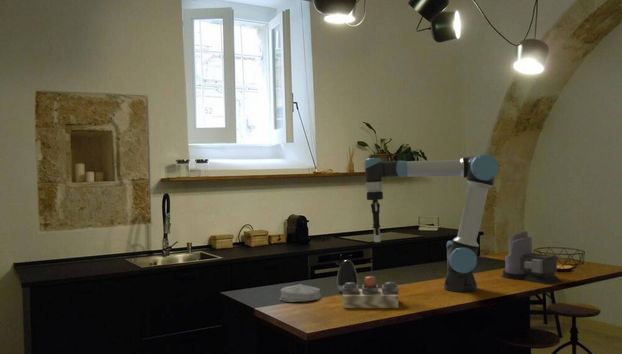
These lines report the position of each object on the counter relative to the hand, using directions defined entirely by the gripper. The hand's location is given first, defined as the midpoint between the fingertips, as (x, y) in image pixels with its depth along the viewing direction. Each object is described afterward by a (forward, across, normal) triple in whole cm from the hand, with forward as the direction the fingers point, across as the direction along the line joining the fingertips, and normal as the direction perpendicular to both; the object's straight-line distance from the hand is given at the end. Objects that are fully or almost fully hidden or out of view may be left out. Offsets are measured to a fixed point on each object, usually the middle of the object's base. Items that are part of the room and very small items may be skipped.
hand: (377, 241), depth 254 cm
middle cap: (+17, +20, -5) cm, 26 cm away
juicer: (+27, -32, +78) cm, 88 cm away
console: (+24, +20, -5) cm, 32 cm away
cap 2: (+19, +20, +3) cm, 28 cm away
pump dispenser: (+24, -6, -15) cm, 29 cm away
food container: (+24, +6, -37) cm, 44 cm away
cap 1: (+19, +19, -14) cm, 30 cm away
